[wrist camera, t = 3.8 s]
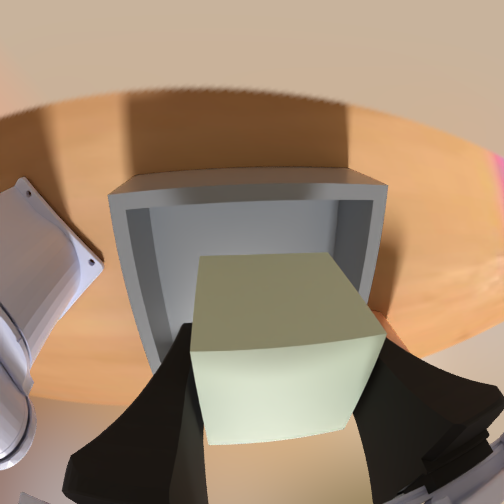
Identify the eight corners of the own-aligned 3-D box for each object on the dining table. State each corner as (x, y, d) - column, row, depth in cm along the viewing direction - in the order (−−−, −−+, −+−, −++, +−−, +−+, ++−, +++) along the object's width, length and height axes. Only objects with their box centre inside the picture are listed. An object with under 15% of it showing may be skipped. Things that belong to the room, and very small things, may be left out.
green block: (208, 352, 13) (209, 444, 8) (199, 256, 11) (190, 351, 6) (311, 344, 13) (343, 428, 9) (327, 252, 11) (387, 333, 7)
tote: (135, 175, 16) (107, 194, 12) (348, 168, 18) (388, 185, 13) (174, 374, 24) (170, 418, 19) (321, 362, 25) (337, 402, 21)
